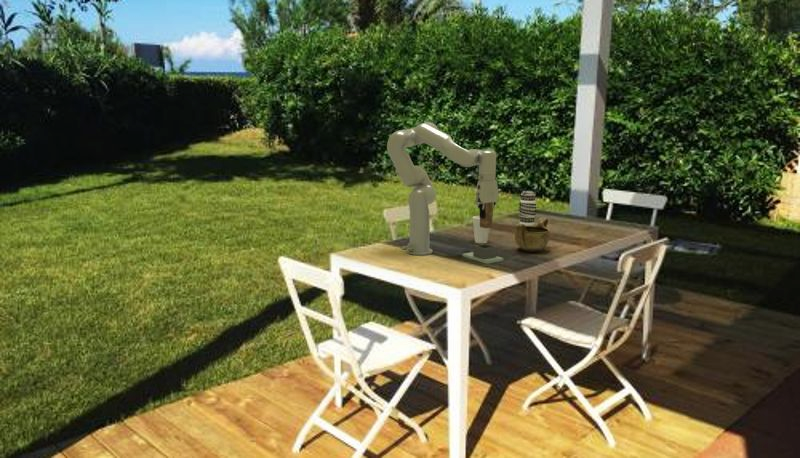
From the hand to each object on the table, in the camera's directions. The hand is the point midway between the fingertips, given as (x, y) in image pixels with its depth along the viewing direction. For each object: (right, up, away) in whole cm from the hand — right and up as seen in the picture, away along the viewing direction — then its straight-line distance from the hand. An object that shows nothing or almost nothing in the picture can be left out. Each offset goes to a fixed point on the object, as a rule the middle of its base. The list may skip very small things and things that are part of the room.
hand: (486, 216), depth 306 cm
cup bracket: (-1, -19, +5) cm, 20 cm away
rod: (0, -5, +1) cm, 5 cm away
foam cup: (+2, -13, +40) cm, 42 cm away
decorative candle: (+28, -10, +50) cm, 58 cm away
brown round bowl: (+25, -16, +22) cm, 37 cm away
